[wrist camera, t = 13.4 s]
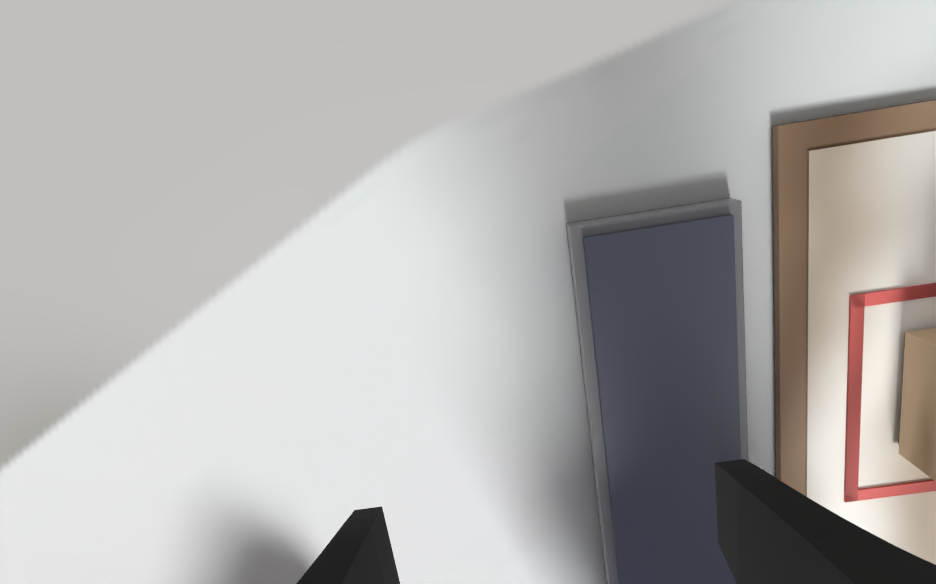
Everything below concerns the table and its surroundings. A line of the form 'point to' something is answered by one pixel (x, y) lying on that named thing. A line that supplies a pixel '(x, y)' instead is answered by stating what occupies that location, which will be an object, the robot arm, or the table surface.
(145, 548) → the table surface
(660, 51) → the table surface
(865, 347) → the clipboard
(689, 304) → the ink pad
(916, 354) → the stamp
